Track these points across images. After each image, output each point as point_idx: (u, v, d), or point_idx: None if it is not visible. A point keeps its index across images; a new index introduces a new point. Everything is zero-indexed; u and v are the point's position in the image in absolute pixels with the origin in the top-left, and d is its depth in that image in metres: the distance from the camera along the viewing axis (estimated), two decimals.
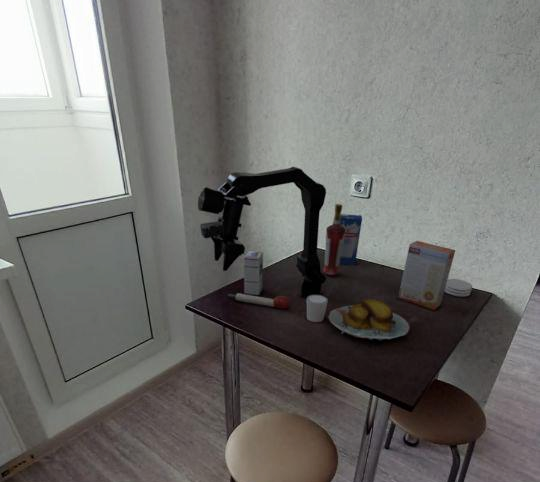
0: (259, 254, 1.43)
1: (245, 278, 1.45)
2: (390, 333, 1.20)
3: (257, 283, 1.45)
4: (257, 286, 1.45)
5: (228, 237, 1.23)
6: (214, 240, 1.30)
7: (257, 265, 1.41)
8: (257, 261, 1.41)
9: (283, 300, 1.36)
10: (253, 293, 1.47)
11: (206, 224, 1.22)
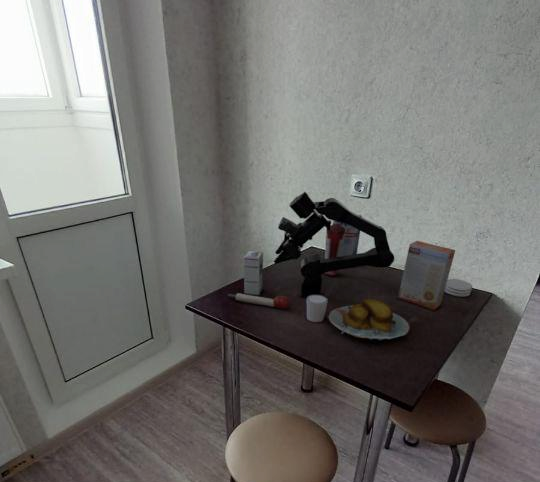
0: (259, 254, 1.43)
1: (245, 278, 1.45)
2: (390, 333, 1.20)
3: (257, 283, 1.45)
4: (257, 286, 1.45)
5: (295, 240, 1.36)
6: (285, 237, 1.44)
7: (257, 265, 1.41)
8: (257, 261, 1.41)
9: (283, 300, 1.36)
10: (253, 293, 1.47)
11: (287, 220, 1.36)
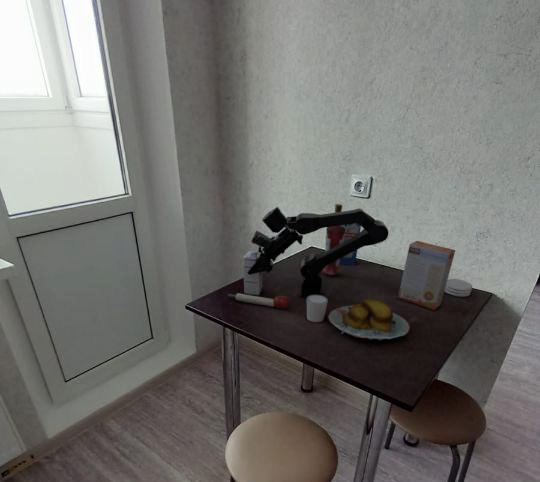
0: None
1: (245, 278, 1.45)
2: (390, 333, 1.20)
3: (257, 283, 1.45)
4: (257, 286, 1.45)
5: (268, 254, 1.39)
6: (259, 251, 1.46)
7: None
8: None
9: (283, 300, 1.36)
10: (253, 293, 1.47)
11: (260, 234, 1.40)
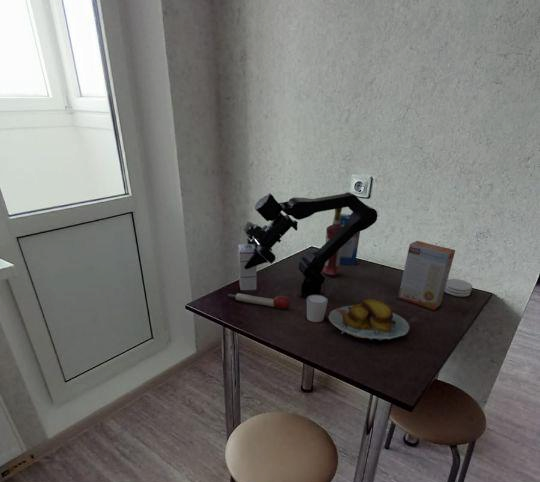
0: (253, 246, 1.33)
1: (241, 274, 1.35)
2: (390, 333, 1.20)
3: (254, 277, 1.36)
4: (254, 280, 1.37)
5: (264, 244, 1.31)
6: (249, 243, 1.37)
7: None
8: None
9: (283, 300, 1.36)
10: (250, 288, 1.38)
11: (252, 224, 1.31)
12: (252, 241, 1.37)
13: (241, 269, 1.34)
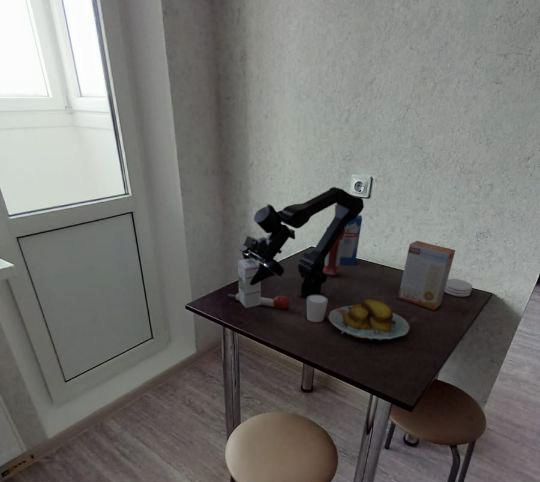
0: (255, 261, 1.27)
1: (246, 291, 1.28)
2: (390, 333, 1.20)
3: (259, 292, 1.30)
4: (259, 295, 1.31)
5: (268, 257, 1.26)
6: (247, 258, 1.30)
7: None
8: None
9: (283, 300, 1.36)
10: (254, 304, 1.32)
11: None
12: (249, 255, 1.30)
13: (246, 286, 1.27)
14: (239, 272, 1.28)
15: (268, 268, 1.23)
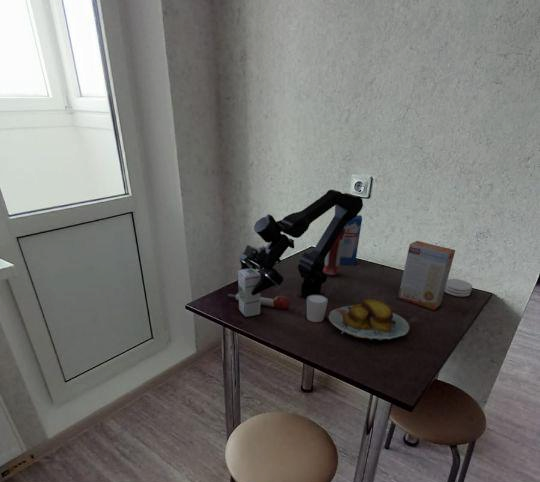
0: (254, 270, 1.29)
1: (246, 300, 1.30)
2: (390, 333, 1.20)
3: (258, 302, 1.32)
4: (258, 305, 1.33)
5: (267, 266, 1.28)
6: (244, 265, 1.32)
7: None
8: (258, 278, 1.28)
9: (283, 300, 1.36)
10: (254, 313, 1.34)
11: (252, 247, 1.26)
12: (246, 262, 1.33)
13: (246, 295, 1.29)
14: (239, 282, 1.30)
15: (270, 278, 1.24)
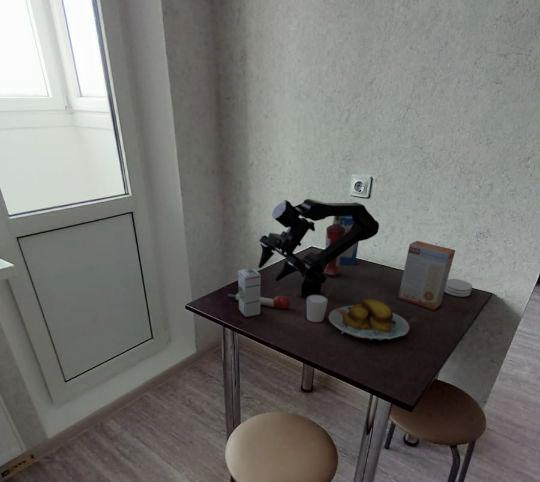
0: (254, 270, 1.29)
1: (246, 300, 1.30)
2: (390, 333, 1.20)
3: (258, 302, 1.32)
4: (258, 305, 1.33)
5: (289, 252, 1.32)
6: (266, 249, 1.36)
7: (258, 282, 1.28)
8: (258, 278, 1.28)
9: (283, 300, 1.36)
10: (254, 313, 1.34)
11: (275, 234, 1.29)
12: (267, 246, 1.37)
13: (246, 295, 1.29)
14: (239, 282, 1.30)
15: (293, 266, 1.30)
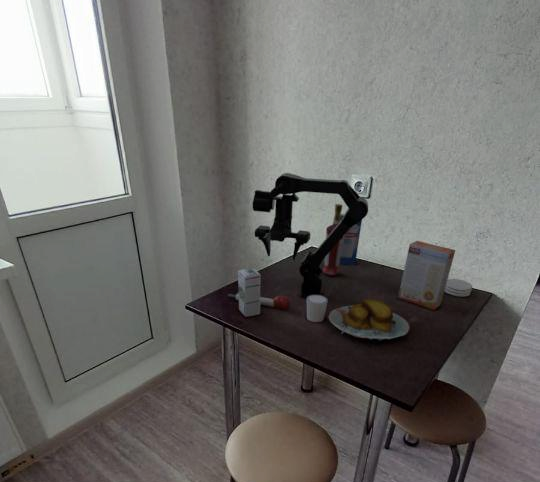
0: (254, 270, 1.29)
1: (246, 300, 1.30)
2: (390, 333, 1.20)
3: (258, 302, 1.32)
4: (258, 305, 1.33)
5: None
6: (266, 240, 1.41)
7: (258, 282, 1.28)
8: (258, 278, 1.28)
9: (283, 300, 1.36)
10: (254, 313, 1.34)
11: (274, 229, 1.33)
12: (265, 236, 1.41)
13: (246, 295, 1.29)
14: (239, 282, 1.30)
15: None
